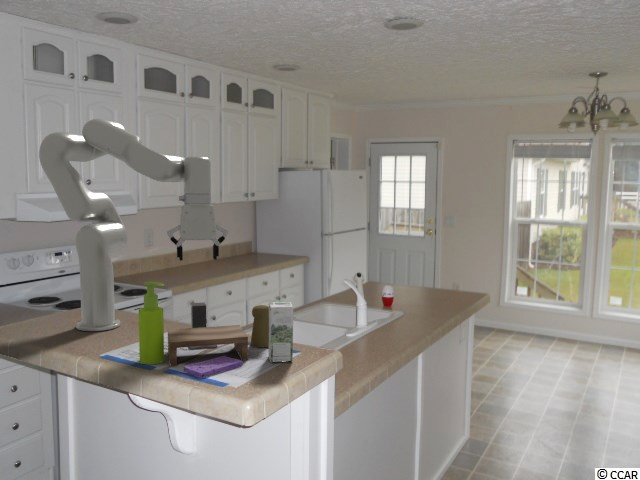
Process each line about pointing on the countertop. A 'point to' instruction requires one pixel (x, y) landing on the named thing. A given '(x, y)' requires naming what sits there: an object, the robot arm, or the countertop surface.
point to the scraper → (199, 319)
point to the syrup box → (280, 331)
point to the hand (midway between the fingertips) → (198, 259)
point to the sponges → (212, 366)
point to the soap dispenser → (151, 327)
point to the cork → (260, 326)
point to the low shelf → (207, 339)
